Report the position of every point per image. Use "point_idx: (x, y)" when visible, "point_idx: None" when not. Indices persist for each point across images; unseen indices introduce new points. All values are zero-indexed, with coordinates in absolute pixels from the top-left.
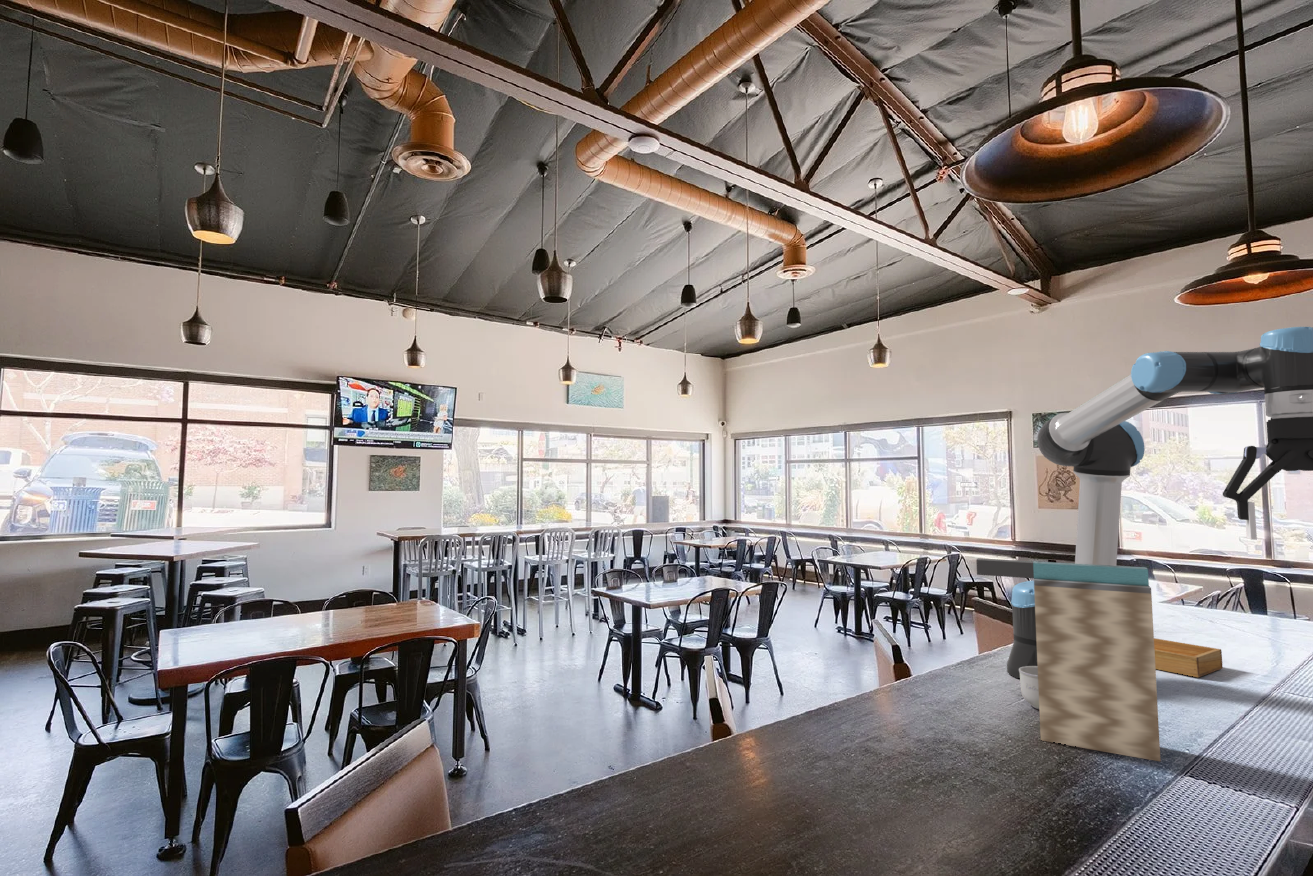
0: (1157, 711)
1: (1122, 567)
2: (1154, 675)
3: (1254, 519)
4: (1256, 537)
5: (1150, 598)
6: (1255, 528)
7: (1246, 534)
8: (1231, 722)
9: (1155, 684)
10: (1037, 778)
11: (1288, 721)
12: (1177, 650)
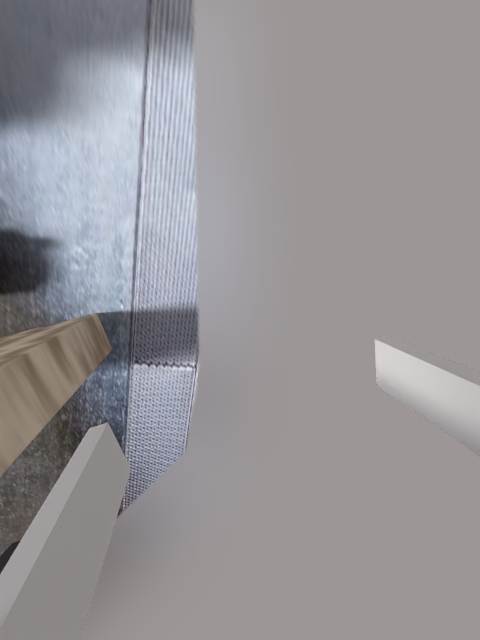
0: (95, 368)
1: None
2: (77, 388)
3: (96, 570)
4: (127, 478)
5: (3, 470)
6: (114, 514)
7: (82, 442)
8: (136, 171)
9: (82, 382)
10: (58, 444)
11: (182, 118)
12: None
